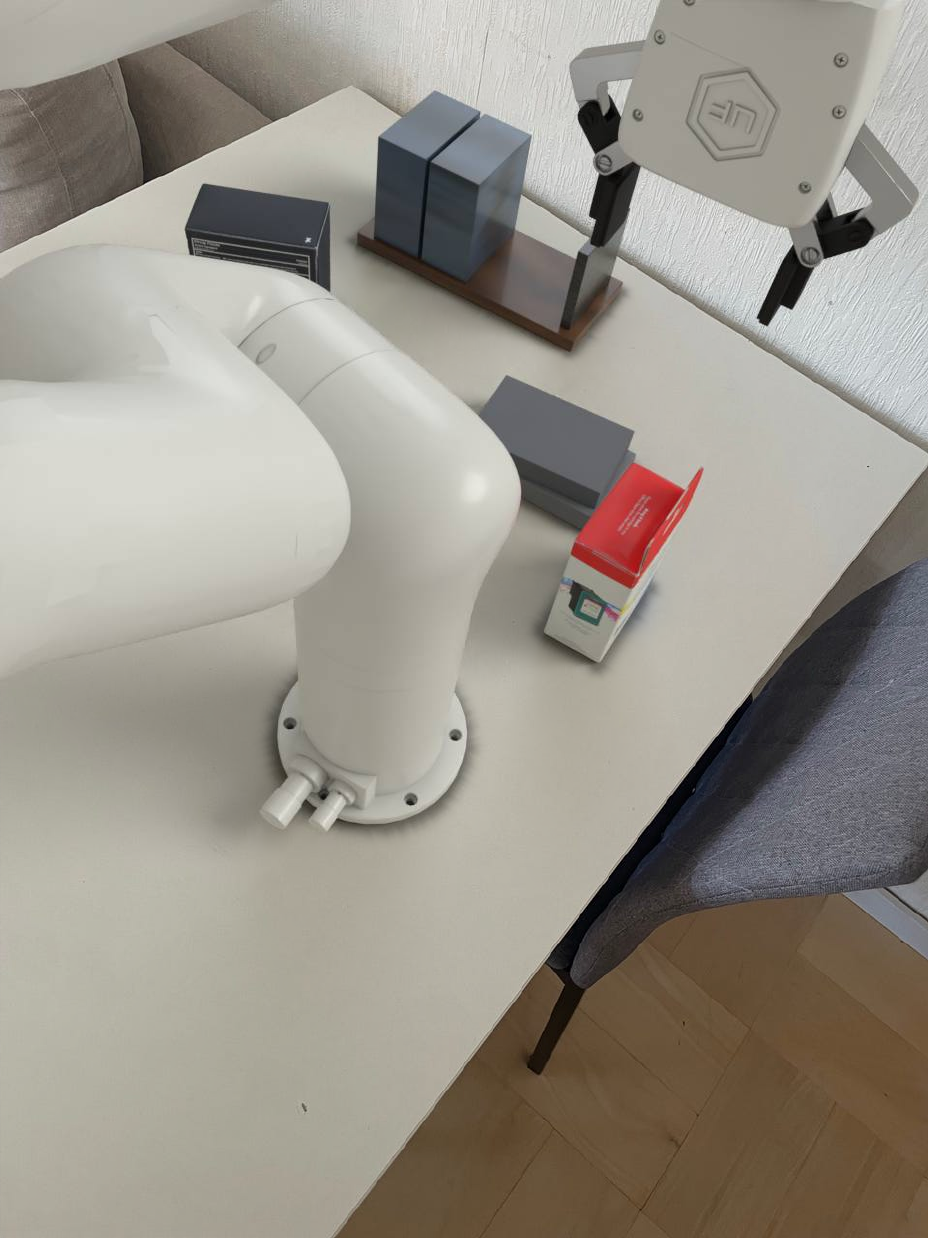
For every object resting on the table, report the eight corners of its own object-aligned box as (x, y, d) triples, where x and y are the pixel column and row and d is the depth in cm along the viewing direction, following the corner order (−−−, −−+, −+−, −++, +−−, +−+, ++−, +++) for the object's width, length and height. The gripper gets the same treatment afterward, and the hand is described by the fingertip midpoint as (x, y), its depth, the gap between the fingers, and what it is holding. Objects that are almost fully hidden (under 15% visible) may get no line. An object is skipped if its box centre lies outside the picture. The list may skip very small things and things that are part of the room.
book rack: (570, 352, 91) (599, 247, 81) (356, 243, 95) (359, 131, 86) (620, 291, 96) (652, 186, 86) (414, 191, 100) (423, 80, 91)
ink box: (594, 557, 79) (643, 427, 67) (650, 588, 78) (711, 463, 66) (540, 633, 75) (582, 510, 62) (598, 668, 74) (653, 550, 61)
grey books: (585, 534, 80) (596, 503, 77) (453, 462, 82) (459, 429, 79) (631, 468, 84) (644, 435, 81) (505, 401, 87) (512, 367, 83)
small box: (333, 301, 91) (333, 198, 82) (320, 352, 87) (319, 250, 78) (214, 282, 90) (202, 177, 81) (197, 333, 87) (182, 228, 78)
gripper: (579, -132, 39) (512, 240, 54) (1009, 36, 36) (815, 383, 51) (658, -191, 43) (575, 172, 58) (1053, -44, 40) (860, 301, 54)
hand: (687, 270), depth 54 cm, fingers open, 9 cm apart
